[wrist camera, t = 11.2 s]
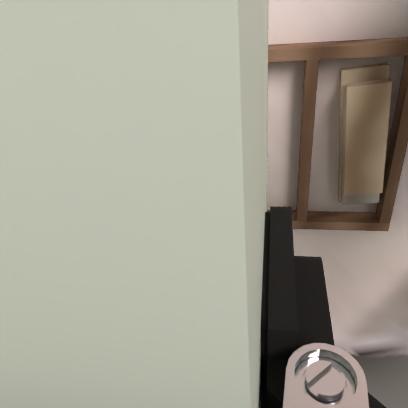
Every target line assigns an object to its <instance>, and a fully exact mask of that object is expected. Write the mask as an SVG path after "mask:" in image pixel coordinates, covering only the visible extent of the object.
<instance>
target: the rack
mask: <svg viewBox="0 0 408 408" xmlns="http://www.w3.org/2000/svg"><path fill="white" fill-rule="evenodd" d="M387 56H406V58H405V63H404V68H403V73H402V78H401V84H400V89H399V94H398V99H397V104H396V109H395V115H394V120H393V125H392V130H391V135H390V141H389V146H388V151H387V156H386V161H385V169H384V181H383V192H382V193H380V196H379V203H377V208H376V212H319V211H307V208H308V195H309V182H310V169H311V156H312V143H313V129H314V116H315V103H316V90H317V77H318V64H319V60H324V59H345V58H366V57H387ZM302 60H305V67H304V85H303V102H302V119H301V137H300V154H299V171H298V189H297V206H296V211H291V213H292V229H326V230H366V231H388V229H389V225H390V220H391V215H392V211H393V206H394V202H395V197H396V193H397V188H398V184H399V179H400V175H401V170H402V166H403V161H404V157H405V152H406V148H407V143H408V37H406V38H388V39H370V40H351V41H333V42H314V43H296V44H278V45H268V62H281V61H302ZM267 212H270V211H267Z"/></svg>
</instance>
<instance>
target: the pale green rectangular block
mask: <svg viewBox="0 0 408 408" xmlns="http://www.w3.org/2000/svg"><path fill="white" fill-rule="evenodd" d="M267 119H268V0H0V408H261V340H260V337H261V301H262V276H263V251H264V226H265V212H267Z"/></svg>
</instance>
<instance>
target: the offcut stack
mask: <svg viewBox="0 0 408 408" xmlns="http://www.w3.org/2000/svg"><path fill="white" fill-rule="evenodd" d="M389 71H390V64H389V63H383V64H376V65H368V66H360V67H352V68H344V69H341V80H340V135H339V190H338V200H339V202H342V205H344V204H363V203H379V196H380V193H382V192H383V181H384V169H385V158H386V147H387V135H388V124H389V113H390V102H391V90H392V81H391V80H390V79H389Z"/></svg>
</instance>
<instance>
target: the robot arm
mask: <svg viewBox="0 0 408 408" xmlns="http://www.w3.org/2000/svg"><path fill="white" fill-rule="evenodd" d="M260 340H261V408H386V407H385V406H384V405H382V404H381V403H380V402H379V401H378V400H376V399H375V398H374V397H373V396H372V395H370V394H369V393H368V392H367V382H366V378H365V375H364V371H363V370H362V368H361V366H360V365H359V363H358V362H357V361H356V360H355V359H354V358H353V357H352V356H351V355H350V354H349V353H348V352H346V351H344V350H342V349H341V348H339V347H337V346H334V340H333V333H332V326H331V319H330V312H329V305H328V298H327V291H326V284H325V277H324V270H323V264H322V259H321V257H304V256H294V248H293V230H292V213H291V207H270V212H265V226H264V251H263V276H262V301H261V337H260Z"/></svg>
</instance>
